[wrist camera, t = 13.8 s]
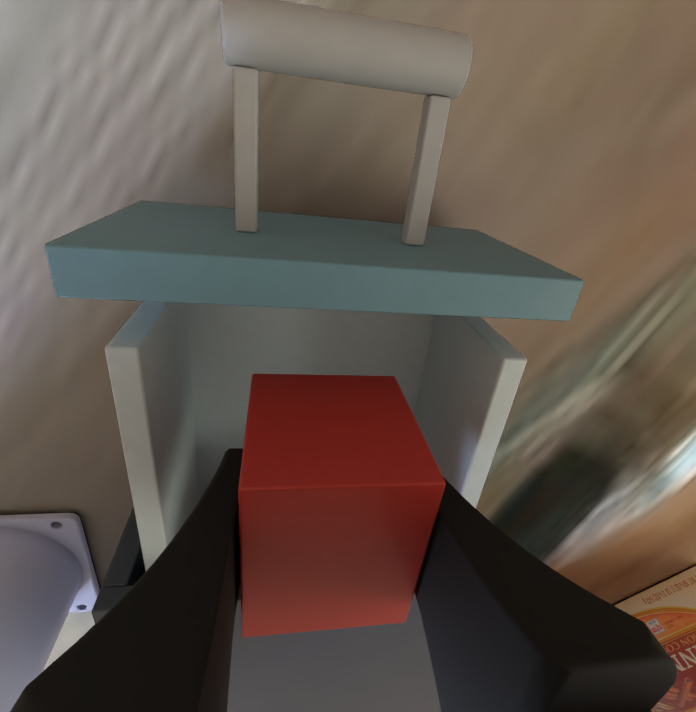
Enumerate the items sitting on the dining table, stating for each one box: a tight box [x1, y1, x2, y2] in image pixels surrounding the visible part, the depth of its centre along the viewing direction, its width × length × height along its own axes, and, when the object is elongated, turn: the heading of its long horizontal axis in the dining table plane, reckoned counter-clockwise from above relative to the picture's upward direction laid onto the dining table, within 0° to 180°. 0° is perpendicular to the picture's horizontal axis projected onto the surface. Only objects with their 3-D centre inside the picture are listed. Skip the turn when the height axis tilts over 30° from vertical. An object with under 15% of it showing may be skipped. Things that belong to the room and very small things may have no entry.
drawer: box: [45, 0, 584, 571], centre depth 15 cm, size 20×13×7 cm, turn 174°
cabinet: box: [92, 507, 441, 712], centre depth 21 cm, size 16×14×9 cm
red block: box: [238, 374, 446, 637], centre depth 12 cm, size 4×5×5 cm
